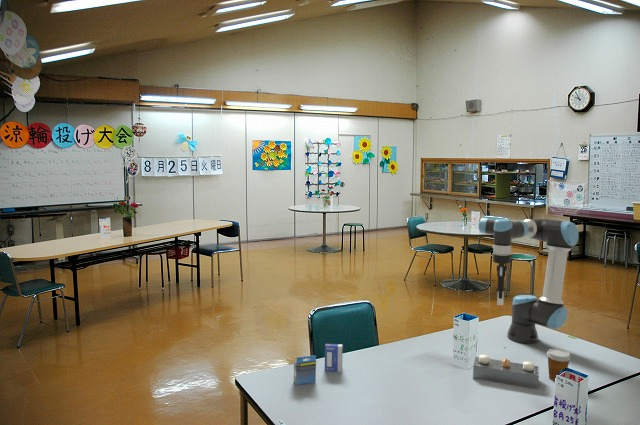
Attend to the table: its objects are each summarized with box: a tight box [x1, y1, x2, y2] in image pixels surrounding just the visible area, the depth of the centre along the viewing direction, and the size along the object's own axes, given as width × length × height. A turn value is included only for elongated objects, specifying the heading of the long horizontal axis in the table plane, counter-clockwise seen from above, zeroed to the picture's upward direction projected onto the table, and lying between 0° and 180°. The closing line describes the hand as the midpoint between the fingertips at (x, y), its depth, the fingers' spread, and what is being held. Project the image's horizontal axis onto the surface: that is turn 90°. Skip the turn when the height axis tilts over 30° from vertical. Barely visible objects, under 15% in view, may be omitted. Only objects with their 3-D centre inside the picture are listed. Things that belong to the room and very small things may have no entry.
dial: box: [501, 358, 511, 367], centre depth 214 cm, size 3×3×3 cm
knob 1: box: [478, 354, 491, 364], centre depth 218 cm, size 4×4×8 cm
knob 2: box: [522, 360, 535, 371], centre depth 211 cm, size 4×4×8 cm
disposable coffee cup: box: [546, 348, 572, 382], centre depth 215 cm, size 10×10×12 cm
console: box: [472, 356, 540, 391], centre depth 215 cm, size 10×26×6 cm, turn 68°
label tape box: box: [293, 354, 317, 386], centre depth 210 cm, size 9×4×12 cm, turn 109°
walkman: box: [324, 343, 344, 373], centre depth 222 cm, size 8×3×12 cm, turn 85°
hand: (500, 304), depth 225 cm, fingers closed
